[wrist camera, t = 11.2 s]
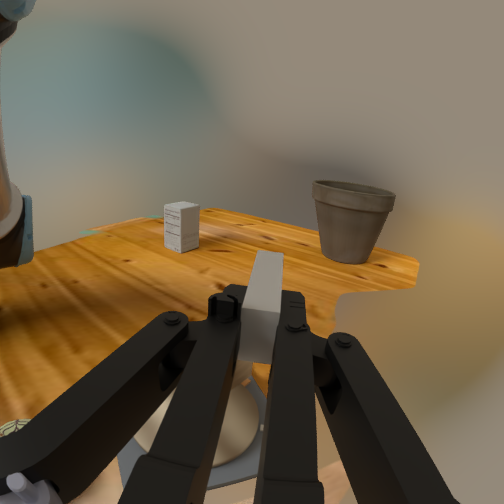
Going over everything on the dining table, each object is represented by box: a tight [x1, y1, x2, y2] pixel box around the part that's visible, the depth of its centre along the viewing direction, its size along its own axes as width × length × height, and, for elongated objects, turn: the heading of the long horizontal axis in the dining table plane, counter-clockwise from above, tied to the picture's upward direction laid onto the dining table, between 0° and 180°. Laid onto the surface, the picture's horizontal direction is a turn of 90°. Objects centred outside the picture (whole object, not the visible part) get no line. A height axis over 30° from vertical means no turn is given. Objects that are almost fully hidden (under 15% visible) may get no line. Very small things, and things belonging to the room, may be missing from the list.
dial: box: [133, 356, 259, 468], centre depth 29 cm, size 17×15×10 cm
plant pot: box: [312, 180, 396, 264], centre depth 86 cm, size 25×25×22 cm
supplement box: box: [164, 201, 200, 253], centre depth 83 cm, size 7×7×13 cm
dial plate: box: [117, 375, 267, 491], centre depth 30 cm, size 19×19×1 cm
